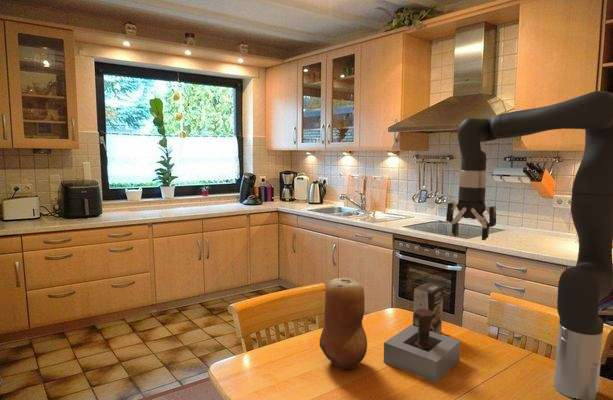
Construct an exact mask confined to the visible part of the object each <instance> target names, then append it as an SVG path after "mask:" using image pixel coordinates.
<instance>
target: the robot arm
mask: <svg viewBox="0 0 613 400" xmlns="http://www.w3.org/2000/svg"><path fill="white" fill-rule="evenodd" d="M554 130H584V137H585V138H584V150H583V151H584V152H583V154H582V159H581V161H580V163H579V166H578V169H577V170H576V171H577V172H576V174H575V176H574V180H573V182H572V183H573V184H572V189H571V200H570V213H571V214H570V215H571V219H572V221H573V225H574V229H575V231H576V234H577V238H578V253H577V260H576V265H574V266H571V267H568V268H567V269H564V271H562V272H561V274H560V276H559V280H558V284H557V301H556V302H557V303H556V309H557V314H558V318H559V321H558V322H559V323H558V334H557V335H558V336H557V345H556V355H555V366H554V376H553V387H554V388H555V389H556V390H557V392H559V393H560V394H561V395H564V396H565V397H568V398H570V397H571V399H573V398H576V399H575V400H577V399H581V400H596V398H597V395H598V391H599V382H600V373H601V363H602V358H601V353H602V344H603V343H602V342H603V335H604V326H605V325H604V321H603V319H602V318H601V317H600V316H599V305H600V304H599V303H600V300H602V299H605V298H606V297H607V296H608V295H609V294H610V293H611V291H612V289H613V92H609V91H606V90H594V91H590V92H587V93H585V94H582V95H579V96H577V97H573V98H570V99H567V100H564V101H561V102H557V103H554V104H550V105H546V106H540V107H534V108H529V109H528V108H526V109H520V110H515V111H510V112H509V111H508V112H504V113H499V114H497V115H495V116H491V117H486V118H475V117H468V118H465V119H464V120H462V122H461V123H460V124H459V126H458V129H457V139H458V140H457V141H458V145H459V152H460V155H461V160H460V162H461V163H460V164H461V165H460V173H459V179H458V180H459V181H458V202H457V203H455V202H453V201H452V202H448V203H447V206H446V207H447V208H446V216H445V217H446V218H445V221H446V222H448V223H451V234H452V235H453V237H458V235H459V229H460V227H459V225H460V224H459V222H460V221H461V220H462V219H471V220H477V221H478V222H479V223H480V225H481V226H482V229H481V241H486V240H487V239H488V238H489V235H490V234H489V233H490V228H491V227H495V226H497V207H496V206H495V205H492V206H489V205H488V206H487V205H486V193H487V192H486V190H487V189H486V188H487V172H486V171H487V153H486V152H485V151H483V150H482V148H481V147H482V146H481V143H486V142H490V141H495V140H499V139H503V140H504V139H510V138H518V137H519V138H521V137H525V136H526V137H527V136H529V135H530V136H531V135H534V134H538V133H542V132H547V131H554ZM456 209H457V210H458V213H457V214H456V215H455V217H454V212H455V210H456ZM485 211H486V212H487V214H488V217H489V222H488V220H487V218H486V216H485V215H484V212H485Z"/></svg>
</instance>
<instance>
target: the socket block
mask: <svg viewBox="0 0 613 400" xmlns="http://www.w3.org/2000/svg"><path fill="white" fill-rule="evenodd" d="M416 341H418V327H416V326H413V324H409V325H408V326H407V327H405V328H403V329H402V330H401V331H399V332H398V333H396V334H395V335H393V336H392V337H390V338H389V339H387V340H386V341H384V343H383V363H385V364H388V365H391V366H393V367H396V368H397V369H400V370H402V371H405V372H408V373H410V374H413V375H414V376H417V377H420V378H423V379H424V380H427V381H429V382H432V383H435V384H437V383H438V382H439V381H440V379H442V378H443V377H444V376H445V375H446V374H447V373H448V372H449V371H450V370H451V369H452V368H453V367H454V366H455V365H456V364H457V363H459V362H460V359H461V358H460V354H461V340H459V339H456V338H453V337H450V336H447V335H444V334H441V333H435V332H432V331H430V334H429V343H431V345H432V350H430V351H429V352H427V351H425V350H422V349H419V348H416V347H414V344H415V342H416Z"/></svg>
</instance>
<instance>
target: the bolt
mask: <svg viewBox="0 0 613 400" xmlns="http://www.w3.org/2000/svg"><path fill="white" fill-rule="evenodd" d="M414 317H416V318H417V319H418V323H419V327H418V341H416V342H415V344H414V347H416V348H419V349H422V350H425V351H427V352H429V351H430V350H432V345H431V343H429V334H430V321H432V320H433V319H434V318H435V313H434V312H433V311H431V310H427V309H418V310H416V311H415V313H414Z"/></svg>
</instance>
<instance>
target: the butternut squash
mask: <svg viewBox="0 0 613 400" xmlns="http://www.w3.org/2000/svg"><path fill="white" fill-rule="evenodd" d="M364 289H365V288H364V287H363V286H362V284H361V283H360V282H358V281H357V280H355V279H353V278H350V277H340V278H339V277H338V278H334V279H331V280H330V281H329V282H328V283H327V285H326V288H325V296H324V297H325V299H324V314H323V315H324V317H323V319H324V320H323V322H324V323H323V328H322V330H321V334H320V337H319V347H320V349H321V351H322V352H323V355H325V357H326V359H328V361H330V362H331V363H332V364H333V365H335V366H336V367H337V368H339V369H342V370H350V369H353V368H356V367H357V366H359V364H361V363H362V361H363V360H364V358H365V356H366V355H367V351H368V338H367V335H366V331H365V329H364V326H363V319H364V316H365V306H366V305H365V301H366V300H365V290H364Z"/></svg>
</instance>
